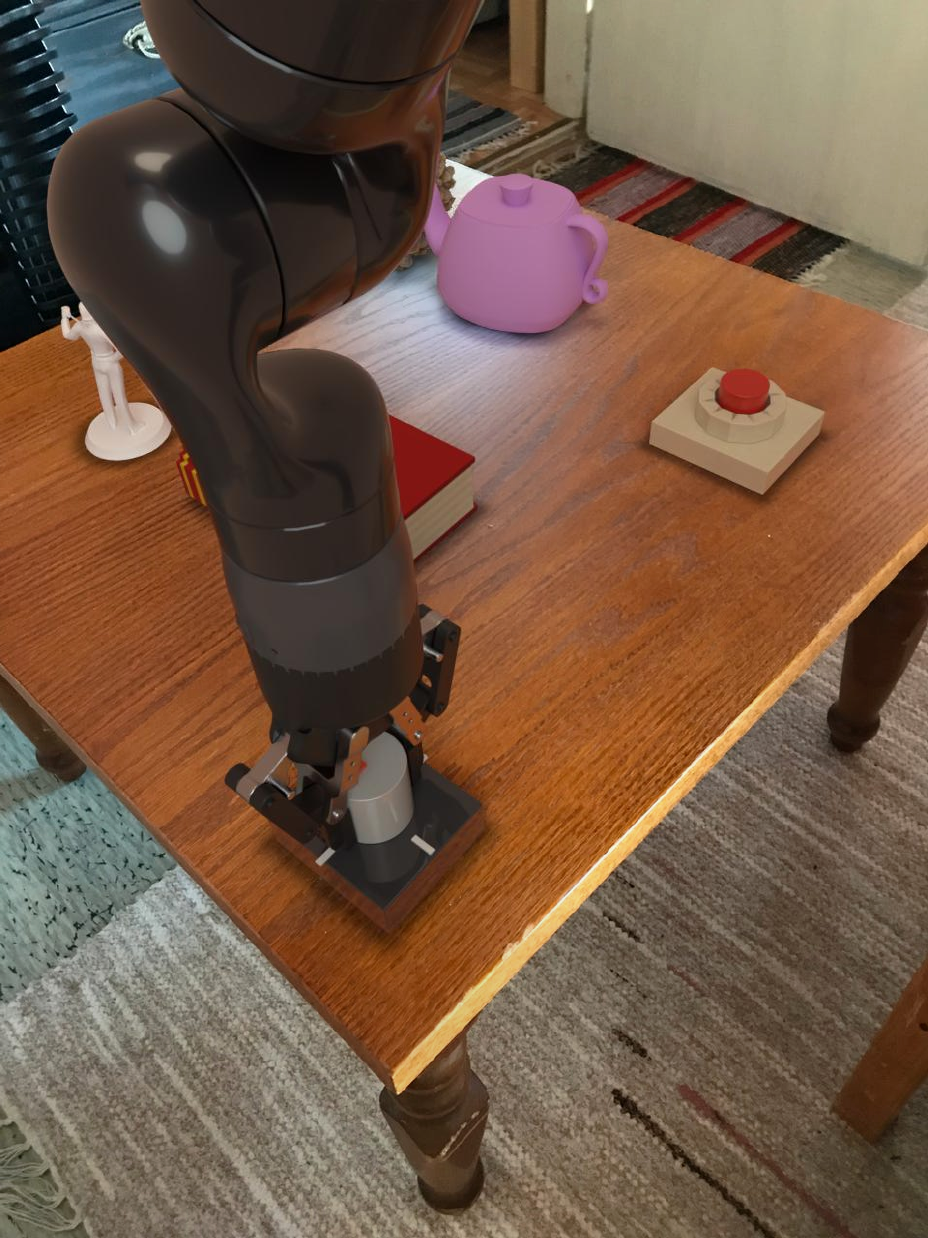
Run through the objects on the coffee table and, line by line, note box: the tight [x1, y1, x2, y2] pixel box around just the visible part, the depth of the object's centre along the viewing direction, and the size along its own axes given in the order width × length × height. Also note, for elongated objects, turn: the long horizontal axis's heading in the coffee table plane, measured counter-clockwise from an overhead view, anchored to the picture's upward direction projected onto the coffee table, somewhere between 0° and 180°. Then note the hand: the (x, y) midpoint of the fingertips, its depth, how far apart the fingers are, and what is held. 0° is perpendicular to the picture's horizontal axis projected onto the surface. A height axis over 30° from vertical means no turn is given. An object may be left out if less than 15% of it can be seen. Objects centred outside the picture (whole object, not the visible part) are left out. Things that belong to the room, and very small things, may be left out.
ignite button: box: [718, 368, 770, 415], centre depth 74 cm, size 4×4×2 cm
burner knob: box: [347, 731, 414, 844], centre depth 52 cm, size 4×4×5 cm
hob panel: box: [267, 752, 486, 935], centre depth 55 cm, size 9×9×3 cm
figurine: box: [60, 301, 172, 461], centre depth 77 cm, size 7×7×12 cm
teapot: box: [424, 173, 610, 334], centre depth 88 cm, size 20×13×12 cm, turn 63°
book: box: [175, 413, 478, 565], centre depth 73 cm, size 18×13×5 cm
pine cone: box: [395, 154, 457, 272], centre depth 93 cm, size 22×10×10 cm, turn 152°
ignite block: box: [648, 366, 826, 496], centre depth 76 cm, size 10×9×4 cm
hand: (372, 804), depth 54 cm, fingers closed on burner knob, 4 cm apart
